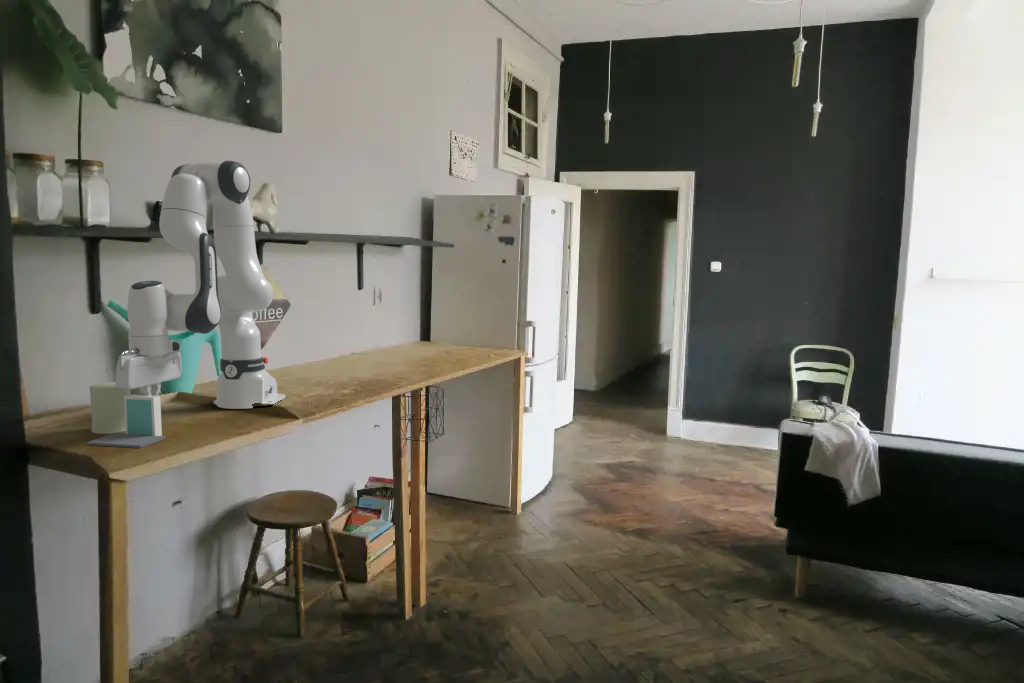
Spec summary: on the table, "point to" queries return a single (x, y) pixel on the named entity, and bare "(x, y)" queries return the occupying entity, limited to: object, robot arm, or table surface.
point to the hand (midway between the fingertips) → (151, 401)
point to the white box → (143, 415)
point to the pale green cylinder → (108, 408)
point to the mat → (126, 440)
